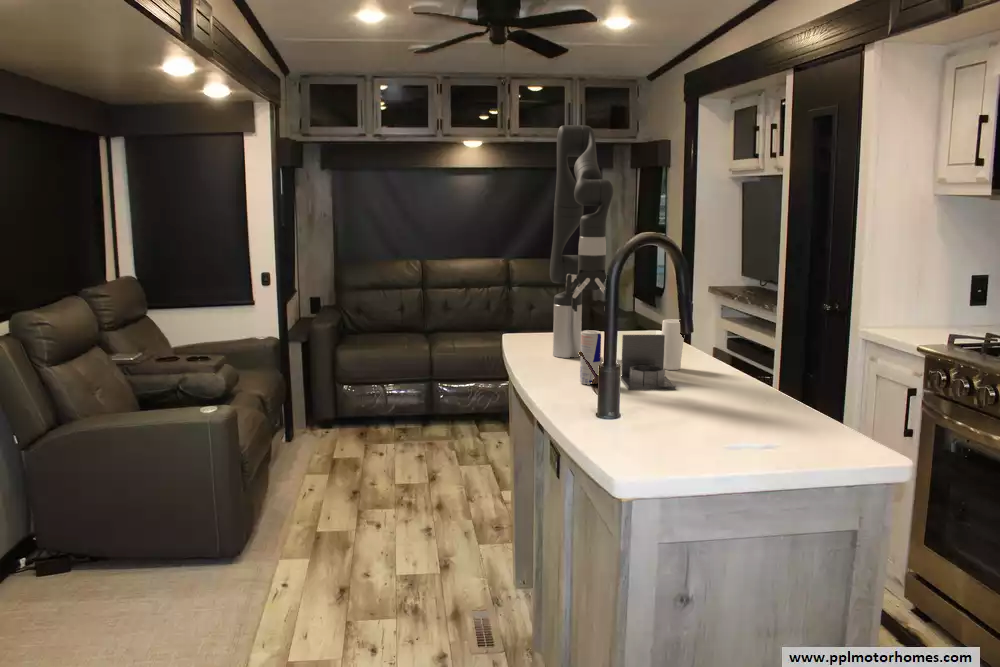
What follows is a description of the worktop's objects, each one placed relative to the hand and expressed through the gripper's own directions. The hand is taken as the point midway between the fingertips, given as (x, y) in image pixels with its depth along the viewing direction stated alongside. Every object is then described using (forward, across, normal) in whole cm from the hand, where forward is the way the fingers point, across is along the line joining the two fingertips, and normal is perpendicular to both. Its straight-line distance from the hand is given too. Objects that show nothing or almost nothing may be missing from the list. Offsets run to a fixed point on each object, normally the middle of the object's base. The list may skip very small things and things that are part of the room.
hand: (590, 311), depth 229 cm
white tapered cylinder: (+21, -28, -19) cm, 40 cm away
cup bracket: (+21, -16, +1) cm, 26 cm away
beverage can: (+21, 0, 0) cm, 21 cm away
